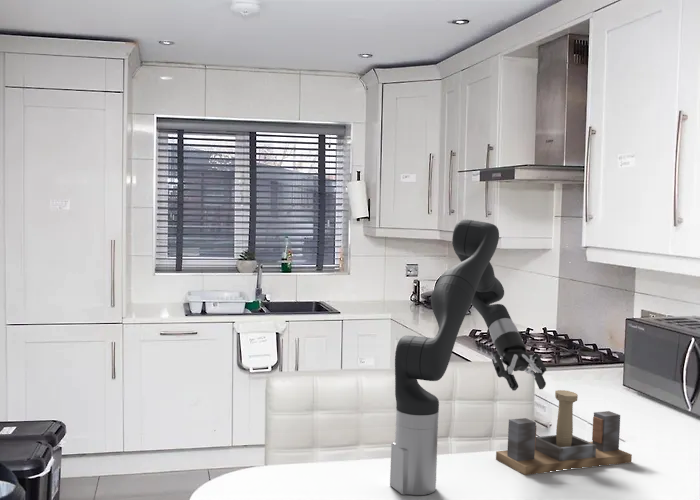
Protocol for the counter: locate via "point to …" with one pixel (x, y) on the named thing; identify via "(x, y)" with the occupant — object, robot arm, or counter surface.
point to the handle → (565, 417)
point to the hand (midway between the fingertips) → (529, 388)
